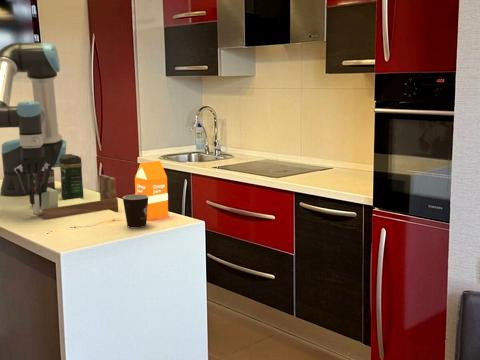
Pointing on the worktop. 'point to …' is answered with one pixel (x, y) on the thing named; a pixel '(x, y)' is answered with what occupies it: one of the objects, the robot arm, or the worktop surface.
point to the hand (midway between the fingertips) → (36, 212)
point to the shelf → (106, 202)
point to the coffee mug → (136, 209)
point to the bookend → (49, 199)
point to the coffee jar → (71, 177)
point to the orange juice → (153, 188)
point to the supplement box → (50, 181)
